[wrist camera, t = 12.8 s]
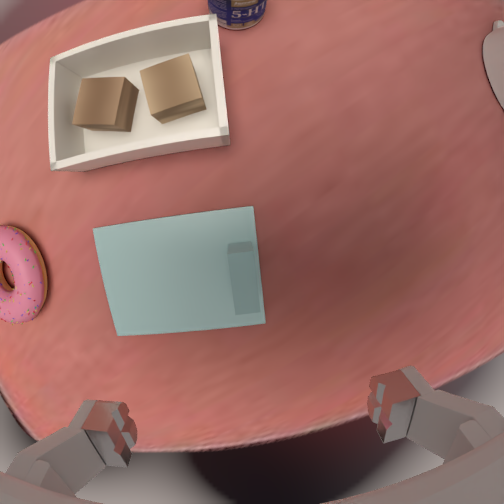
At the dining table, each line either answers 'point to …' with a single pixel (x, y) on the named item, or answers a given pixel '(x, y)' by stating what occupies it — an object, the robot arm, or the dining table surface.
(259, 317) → the lid
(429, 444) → the robot arm
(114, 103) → the block
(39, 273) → the doughnut
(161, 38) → the tub
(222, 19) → the pill bottle
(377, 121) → the dining table surface
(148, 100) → the block
